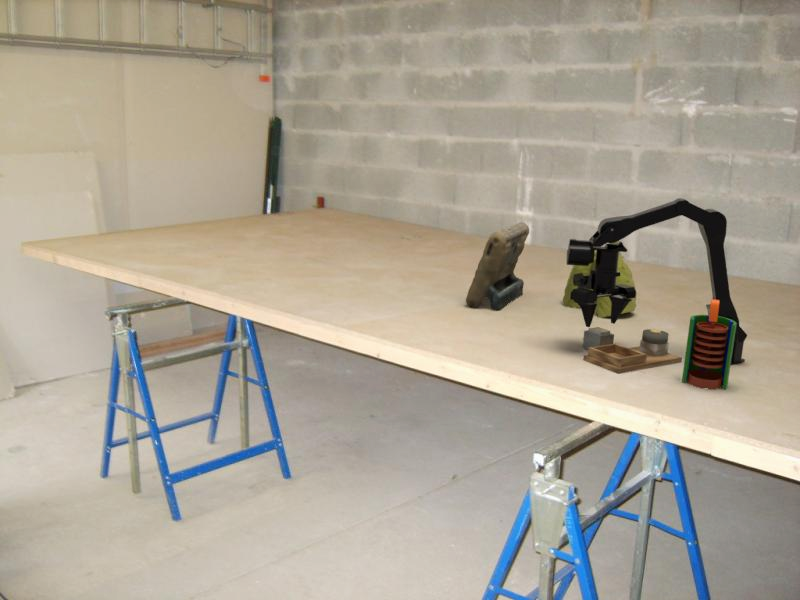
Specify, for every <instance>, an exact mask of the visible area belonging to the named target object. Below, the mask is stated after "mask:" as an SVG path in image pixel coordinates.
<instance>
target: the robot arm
mask: <svg viewBox="0 0 800 600" xmlns="http://www.w3.org/2000/svg"><path fill="white" fill-rule="evenodd" d="M680 216H683V217H685V218H686V219H688V220H689V219H690V220H691V221H693V222H695V223H697V225H698V229H699V231H700V234H701V237H702V239H703V242H704V244H705V247H706V249H705V250H706V255H707V263H708V271H709V279H710V285H711V286H710V287H711V293H712V299H715V300H719V311H718V316H720V317H724V318H728V319H731V320H733V321H735V322H736V323H737V325H736V331H735V338H734V345H733V352H732V358H731V365H733V364H738V363H743V362H745V361H746V360H745V359H744V358H742V356H743V350H744V344H745V341H746V339H747V337H748V334H747V332H745V331H744V330H743V328H742V327H741V326H740V320H739V317H738V314H737V310H736V308H735V305H734V303H733V300H732V298H731V292H730V286H729V285H730V284H729V275H728V269H727V262H726V261H727V260H726V254H725V253H726V252H725V240H726V235H727V227H728V226H727V225H728V222H727V218H726V216H725V214H724V213H722V212H720V211H718V210H716V209H714V208H706V209H703V208H701V207H700V206H697V205H695V204H693V203H691V202H689V201H688V200H687V199H685V198H682V197H680V198H675V200H672V201H670V202H666V203H664V204H660V205H657V206H656V207H652V208H648V209H646V210H643V211H639V212H636V213H633V214H631V215H620V216H619V215H618V216H614V217H607V218H604V219H602V220H601V221H599V224H598V226H597V231H596V232H594V233H593V235H591V237H590V238H589V239H588V240H581V239H576V238H569V242H568V247H567V248H568V249H567V250H566V266H574V265H578V266H589V264H591V263H593V261H594V253H595V250H597V252H596V262H595V269H593V270H591V271H590V275H588V276H584V275H583V274H582V273H577V274H574V277H573V284H574V286H578V289H573V290H572V291H571V296H570V299H572V300H574V302H575V303H578V305H579V306H580V307H581V308H580V310H581V312H582V316H583V317H582V318H583V320H584V325H585V327H587V328H591V325H592V323H593V319H594V316H595V314H596V313H595V310H596V306H597V302H595V301H596V300H597V298H599V297H607V296H609V298H610V300H611V303H612V304H611V316H610V323H611V324H613V325H614V324H616V322H617V320H618V319H619V317H620V316H621V315H622V314H621V313H622V311H623V310H624V309H625V307H626V306H627V305H628V303H629V302H630V301H632V299H630V298H635V297H636V298H637V294H636V293H637V289H636V287H635V288H634V287H632V286H628V285H624V284H616V278H617V277H618V276H620V273H621V272H617V268H618V259H619V252H620V253H628V249H627V248H626V246H624V243H623V242H622V241H621V240H622V239H623V240H624V239H625V238H626V237H629V236H630V235H631V234H632V233H634V232H636V231H639V230H642V229H644V228H646V227H650V226H654V225H656V224H660V223H662V222H665V221H669V220H671V219H675V218H677V217H680ZM617 241H619V242H618V243H617V244H610V243H615V242H617ZM585 288H586V289H585ZM589 289H593V291H592V290H589ZM635 289H636V290H635ZM599 293H601V294H599ZM710 304H711V303H708V304H706V305H705V307H706V310H707V315H710Z"/></svg>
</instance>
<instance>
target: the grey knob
mask: <svg viewBox="0 0 800 600" xmlns="http://www.w3.org/2000/svg"><path fill="white" fill-rule="evenodd" d="M669 336H670V335H669V333H668V332H667V331H664V330H660V329H655V328H650V329H648V328H647V329H644V330H643V331H642V336H641V340H643V341H644V342H647V343H652V344H666V343H669V342H668V341H669Z"/></svg>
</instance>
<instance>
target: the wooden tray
mask: <svg viewBox="0 0 800 600" xmlns="http://www.w3.org/2000/svg"><path fill="white" fill-rule="evenodd" d="M669 346H670V345H669V342H668V343H666V344H652V343H647V342H644V341H643V340H642V339H640V343H639V346H633V347H626V346H624V345H621V344H618V343H613V344H608V345H602V346H595V347H589V349H588V350H587V354H585V355H583V359H582V360H583V361H585V362H588V363H590V364H593V365H595V366H598V367H601V368H603V369H606V370H608V371H611V372H613V373H616V374H617V375H618V374H623V373H629V371H630V372H635V371H639V370H645V369H651V368H655V367H662V366H666V365H672V364H678V363H682V361H683V357H682V356H679V355H676V354H673V353H670V352H669Z"/></svg>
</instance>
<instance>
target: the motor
mask: <svg viewBox="0 0 800 600" xmlns="http://www.w3.org/2000/svg"><path fill="white" fill-rule="evenodd" d="M709 304H710V315H708V314H695V315H691V316H690V318H689V326H688V332H687V333H688V334H687V341H686V346H685V347H686V349H685V356H684V361H683V362H684V363H683V364H684V365H683V369H682V379H681V382H682V383H684V384H686V383H688V385H691V386H692V385H693V386H692V387H695V386H696V387H695V388H698V387H699V389H703V388H708V389H707V390H717V389H716V388H719V389H721V388H724V389H723V390H727V389H728V384H729V376H730V372H731V365H732V364H731V358H732V352H733V345H734V338H735V331H736V325H737V323H736V322H735V321H733V320H731V319H728V318H724V317H720V316H718V311H719V300H715V299H713V298H711V300H710V303H709ZM721 386H722V387H721ZM720 387H721V388H720ZM726 388H727V389H726Z"/></svg>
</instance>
